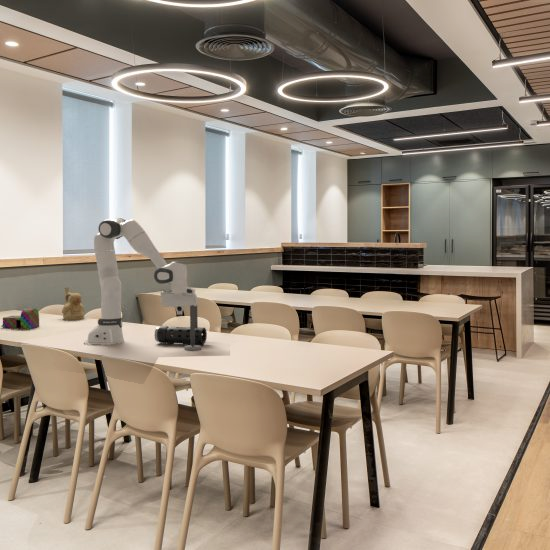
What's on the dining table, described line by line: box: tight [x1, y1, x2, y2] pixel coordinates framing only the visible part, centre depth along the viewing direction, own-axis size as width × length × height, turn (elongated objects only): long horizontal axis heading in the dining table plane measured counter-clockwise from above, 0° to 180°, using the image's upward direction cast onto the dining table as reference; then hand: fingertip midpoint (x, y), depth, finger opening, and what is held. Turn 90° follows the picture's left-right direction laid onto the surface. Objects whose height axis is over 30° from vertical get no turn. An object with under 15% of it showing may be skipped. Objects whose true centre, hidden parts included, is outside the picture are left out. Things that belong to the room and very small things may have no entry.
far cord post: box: [194, 305, 199, 328], centre depth 335 cm, size 9×9×24 cm
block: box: [1, 307, 40, 331], centre depth 388 cm, size 25×17×14 cm
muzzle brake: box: [154, 325, 208, 346], centre depth 320 cm, size 10×28×10 cm, turn 78°
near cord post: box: [183, 305, 202, 352], centre depth 305 cm, size 9×9×24 cm
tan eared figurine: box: [61, 287, 85, 321], centre depth 424 cm, size 17×20×25 cm
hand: (179, 314), depth 319 cm, fingers closed
